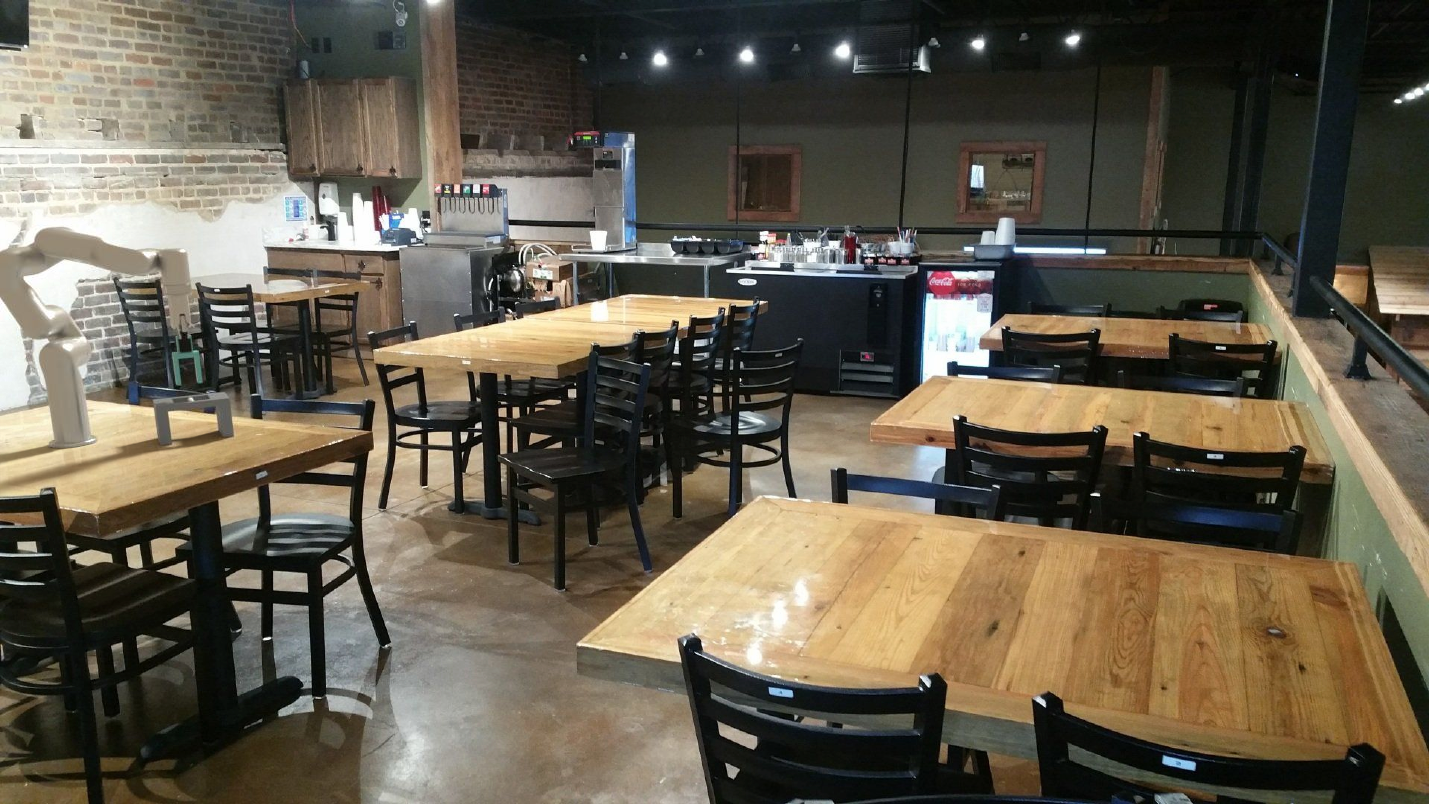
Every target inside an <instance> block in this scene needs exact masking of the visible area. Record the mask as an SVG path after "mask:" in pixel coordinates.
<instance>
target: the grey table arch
mask: <svg viewBox="0 0 1429 804" xmlns="http://www.w3.org/2000/svg"><path fill="white" fill-rule="evenodd" d="M152 404H153V412H154V413H153V414H154V420H155V421H154V422H155V427H156V435H157V439H158V442H159V444H160V446H169V445H173V440H172V439H173V438H172V433H171V432H172V431H171V425H170V416H169V412H175V411H176V412H177V411H184V410H185V411H186V410H193V409H202V408H212V407H215V413H216V421H217V422H216V423H217V429H218V432H219V433H220V435H221V436H222V437H223V438H224V439H225V438H231V437H232V438H233V437H235V432H234V425H233V424H234V423H233V416H232V415H233V414H232V406H231V398H230V397H229V395H228V394H227V393H226V392H225V391H221V392H212V393H203V394H194V395H193V394H192V395H185V396H182V395H181V396H174V397H166V398H165V397H164V398H155V399H152Z"/></svg>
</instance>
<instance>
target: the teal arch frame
mask: <svg viewBox="0 0 1429 804" xmlns="http://www.w3.org/2000/svg"><path fill="white" fill-rule="evenodd" d="M189 337H190V340H191V348H192V351H191V352H182V353H181V352H180V349H179V341H178V339H179V336H177V335H175V341H176V343H175V344H176V350H177V351H172V352H171V356H172V364H173V373H174V379H175V385H176V386H182V379H181V374H180V373H181V371H180V370H181V369H180V363H179V359H189V358H191V359H192V358H193V360H194V368H195V369H194V370H195V377H196V382H197V384H203V383H204V382H203V375H202V374H203V373H202V367H201V356H200V352H199V350H194V347H193V341H192V335H191V334H189Z"/></svg>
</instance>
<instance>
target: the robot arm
mask: <svg viewBox="0 0 1429 804" xmlns="http://www.w3.org/2000/svg"><path fill="white" fill-rule="evenodd" d="M63 261H70V262H75V263H80V264H85V265H90V266H94V267H96V268H100V269H103V270H106V271H110V272H116V273H120V274H125V275H130V276H139V277H140V276H146V275H152V274H156V273H157V274H158V273H160V274H161V275H160V276H161V282H162V290H163V295H164V297H167V300H168V301H167V302H168V303H167V304H168V312H169V319H170V320H169V322H170V327H171V328H172V329H173V330H176V333H177V334H176V336H179V339H178V341H179V349H180V352H181V353H182V352H191V351H192V348H191V340H190V337H189V335H190V330H189V329H190V328H192V322H191V321H192V320H191V310H190V301H189V296H192V295H193V289H192V283H191V281H192V280H191V272H190V264H189V257H188V253H187V251H186V250H185V249H184V248H163V249H160V248H151V247H150V248H149V247H148V248H138V249H135V248H128V247H124V246H119V245H118V246H117V245H114V244H110V243H107V242H105V241H104V240H103V239H102V238H101V237H100V236H97V235H96V236H95V235H92V234H91V235H90V234H85V233H81V232H76V231H75V230H73V228H72V229H71V228H70V227H67V226H66V227H65V226H51V227H45V228H42V229H40V230H39V231H38V232H36V234H35V236H34V241H33V242H32V243H30V244H28V245H26V246H17V247H10V248H9V247H8V248H6V249H2V250H0V300H2V302H3V303H4V305H5V307H6V308H7V310H8V311H9V312H10V314H11V315H12V317H13V318H14V320H15V321H16V322H17V324H18V326H19V327H20V329H21V330H22V331H23V332H24V334H25V335H26V336H27V337H29V338H30V339H32V340H36V341H41V340H46V339H47V341H48V343H46V344H44V346H42V348H41V349H40V351H39V353H38V363H39V366H40V369H41V372H42V375H43V380H44V384H45V389H46V395H47V400H48V408H49V413H50V420H51V421H50V422H51V425H52V426H51V427H52V432H53V433H52V434H53V439H52V440H50V441H49V442H48V446H49V447H50V448H53V449H67V448H70V449H71V448H78V447H83V446H88V445H91V444H94V443H97V442H98V441H99V439H98V436H97V435H93V434H92V431H91V426H90V420H89V418H90V417H89V413H88V412H89V411H88V406H87V405H88V404H87V397H86V392H85V385H84V381H83V377H82V375H81V373H80V370H79V367H82V366H84V365H86V364H87V363H88V362H89V361H90V359H91V358H92V354H93V353H92V352H93V351H92V347H91V344H90V343H89V341H88V339H87V337H86V336H85V335H84V333H83V331H82V330H81V329H80V327H79V326H78V324H77V323H76V322H75V320H74V319H73V317H72V316H71V314H70V313H69V312H67V311H66V310H65V309H64V308H63V307H60V306H58V305H54V304H46V305H45V303H44V302H43V301H42V299H41V298H40V297H39V294H38V293H37V291H35V289H34V288H33V287H32V286H31V285H30V284H29V283H28V282H27V281H26V280H25V278H24V277H29V276H35V275H39V274H42V273H43V272H45V271H47V270H49V269H50V268H52V267H54V266H57V264H59V263H61V262H63Z"/></svg>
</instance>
